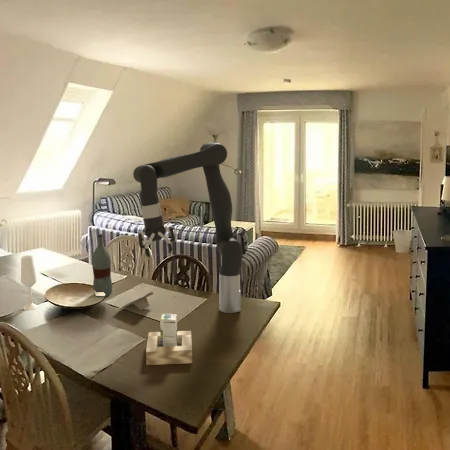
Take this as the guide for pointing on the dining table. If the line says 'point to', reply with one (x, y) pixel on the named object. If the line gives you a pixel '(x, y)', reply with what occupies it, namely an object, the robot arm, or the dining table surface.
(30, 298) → the champagne flute
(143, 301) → the grey slanted panel
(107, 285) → the bottle
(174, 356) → the well block
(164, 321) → the syrup box
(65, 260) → the dining table surface
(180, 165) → the robot arm
